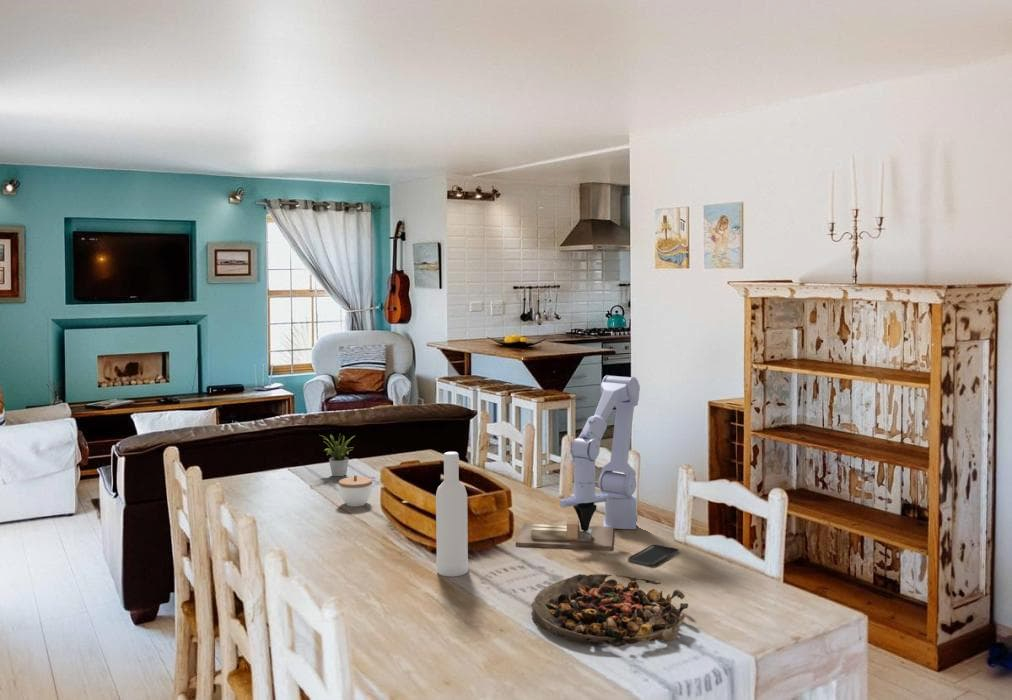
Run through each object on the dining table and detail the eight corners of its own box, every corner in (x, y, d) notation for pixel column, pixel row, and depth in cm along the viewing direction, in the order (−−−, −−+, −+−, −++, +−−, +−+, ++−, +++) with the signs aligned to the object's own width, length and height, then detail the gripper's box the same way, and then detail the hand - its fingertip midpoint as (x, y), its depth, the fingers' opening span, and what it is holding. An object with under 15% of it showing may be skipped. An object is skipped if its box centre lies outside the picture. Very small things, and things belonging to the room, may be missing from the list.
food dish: (721, 630, 182) (722, 595, 181) (603, 675, 163) (604, 636, 162) (609, 577, 210) (609, 547, 209) (497, 611, 191) (497, 577, 190)
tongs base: (613, 530, 248) (613, 518, 248) (611, 550, 230) (611, 536, 230) (523, 526, 252) (523, 514, 252) (515, 546, 234) (515, 533, 234)
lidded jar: (379, 502, 280) (379, 474, 279) (357, 510, 271) (356, 481, 270) (354, 498, 285) (354, 470, 284) (332, 505, 276) (331, 476, 275)
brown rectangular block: (579, 533, 241) (579, 517, 240) (577, 540, 234) (577, 524, 234) (568, 533, 241) (568, 517, 241) (566, 540, 235) (566, 523, 234)
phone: (626, 558, 221) (653, 543, 233) (626, 562, 221) (653, 548, 233) (653, 564, 217) (680, 549, 228) (653, 569, 217) (680, 553, 229)
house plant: (309, 479, 312) (308, 434, 310) (324, 470, 325) (323, 428, 324) (347, 480, 309) (346, 435, 308) (360, 472, 323) (359, 429, 321)
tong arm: (579, 534, 240) (579, 526, 240) (578, 537, 238) (578, 528, 238) (533, 532, 243) (533, 523, 242) (532, 534, 241) (532, 525, 241)
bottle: (429, 571, 214) (428, 453, 212) (452, 563, 220) (451, 448, 217) (451, 579, 209) (450, 457, 206) (474, 571, 215) (473, 452, 212)
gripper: (599, 475, 243) (599, 522, 244) (554, 481, 237) (554, 529, 238) (613, 481, 236) (612, 529, 237) (566, 486, 230) (566, 536, 231)
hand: (584, 529), depth 237 cm, fingers closed
